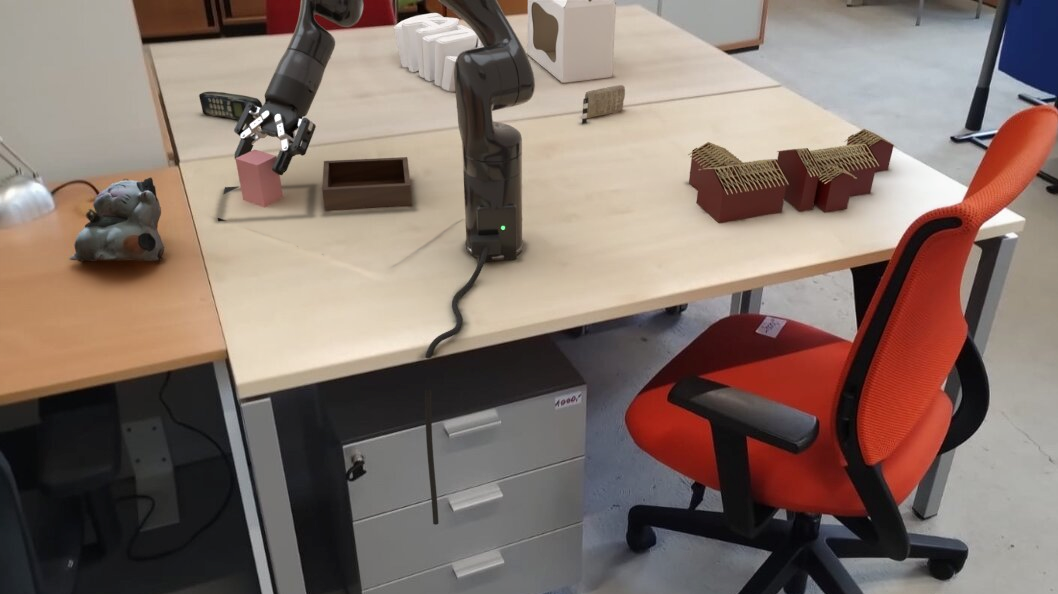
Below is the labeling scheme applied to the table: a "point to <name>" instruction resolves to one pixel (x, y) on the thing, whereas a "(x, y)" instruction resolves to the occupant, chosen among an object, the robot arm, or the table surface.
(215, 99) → the mobile phone
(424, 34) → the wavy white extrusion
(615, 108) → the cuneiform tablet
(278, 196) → the block
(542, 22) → the gable box
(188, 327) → the table surface
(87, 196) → the table surface
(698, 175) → the toy houses
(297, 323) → the table surface
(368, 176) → the crate
